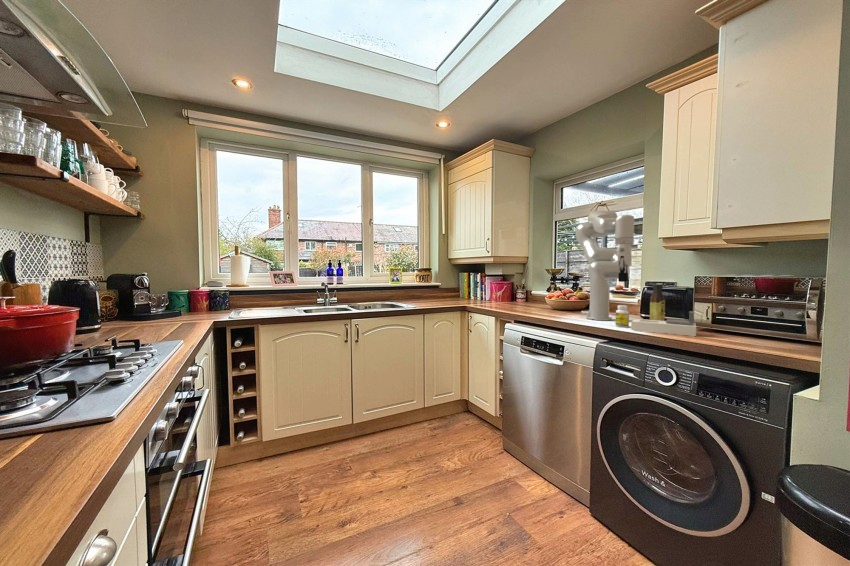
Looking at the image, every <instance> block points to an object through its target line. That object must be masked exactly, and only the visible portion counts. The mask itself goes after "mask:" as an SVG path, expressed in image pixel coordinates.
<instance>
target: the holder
mask: <svg viewBox="0 0 850 566" xmlns="http://www.w3.org/2000/svg"><path fill="white" fill-rule="evenodd" d="M693 323H694V324H693V325H687V324H674V323H666V320H664V321H659V320H650V319H647V318H646V319H644V318H643V319H642V318H634V319H633V320H631V323H630V325H631V326H630V331H631V330H634V332H641V331H646V332H645V333H652V332H655V333H656V334H663V333H668V334H667V335H674V334H677V335H676V336H684V335H692V336H691V337H695V336H696V337H697V324H696V322H693Z"/></svg>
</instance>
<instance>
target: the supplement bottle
mask: <svg viewBox="0 0 850 566" xmlns="http://www.w3.org/2000/svg"><path fill="white" fill-rule="evenodd" d="M617 326H619V327H618V328H628V327H629V326H630V311H629V310H628V305H622V304H619V305H617V310H615V327H617Z"/></svg>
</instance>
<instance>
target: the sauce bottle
mask: <svg viewBox="0 0 850 566" xmlns="http://www.w3.org/2000/svg"><path fill="white" fill-rule="evenodd" d="M652 289H653V290H652V294H651V295H650V301H649V320H659V321H666V320H665V318H666V314H665V313H666V312H665V310H666V298H665V297H664V293H663V283H653V284H652Z"/></svg>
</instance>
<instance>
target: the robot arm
mask: <svg viewBox="0 0 850 566" xmlns="http://www.w3.org/2000/svg"><path fill="white" fill-rule="evenodd" d="M587 221H588V222H584V223H579V224H578V225H577V226H576V229H575V237H576V240H577V242H578V244H579V246H580V247H581V249H582V250H583V253H584V255H585V258H586V261H587V262H588V263H589V265H588V276H589V309H588V310H581V313H580V314H581V315H585V317H586V319H587V318H588V320H592V319H594V320H593V321H612V320H613V317H610V291H611V289H610V285H609V283H608V282H607V280H613V279H614V280H617V279H618V282H619V283H620V282H622V283H623V282H627V283H628V281H629V268H630V267H632V265H633V262H632V246H634V241H635V240H634V239H635V238H634V237H635V217H634V216H633V215H630V214H624V215H623V214H621V215H619V216H618V213H616V211H613V210H594V211H592V212H590V214H589V215H588V216H587ZM609 234H614V246H615V247H616V246H617V249H615V248H612V247H611V248H610V247H609V248H608V247H600V244H599V243H598V241H597V240H595V239H594V238H605V237H607V236H609ZM586 315H587V316H586Z"/></svg>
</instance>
